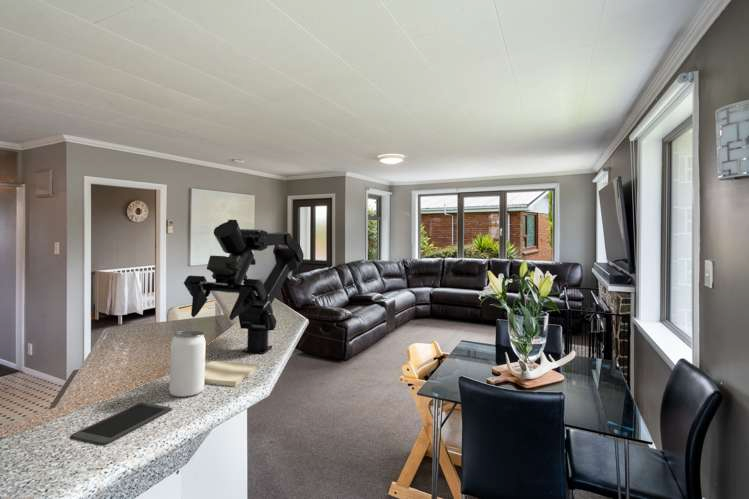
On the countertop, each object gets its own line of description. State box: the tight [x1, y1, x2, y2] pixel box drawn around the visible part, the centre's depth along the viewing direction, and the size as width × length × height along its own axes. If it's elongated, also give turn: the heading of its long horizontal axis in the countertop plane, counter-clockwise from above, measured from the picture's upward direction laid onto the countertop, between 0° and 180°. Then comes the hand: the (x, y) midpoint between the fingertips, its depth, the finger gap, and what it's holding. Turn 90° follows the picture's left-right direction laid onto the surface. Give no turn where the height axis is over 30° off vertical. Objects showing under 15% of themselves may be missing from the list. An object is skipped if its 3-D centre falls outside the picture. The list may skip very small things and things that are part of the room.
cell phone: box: [70, 402, 173, 446], centre depth 68 cm, size 7×14×1 cm, turn 165°
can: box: [169, 330, 207, 398], centre depth 82 cm, size 6×6×12 cm
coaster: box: [204, 360, 260, 387], centre depth 92 cm, size 12×12×1 cm
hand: (211, 317), depth 90 cm, fingers open, 9 cm apart
